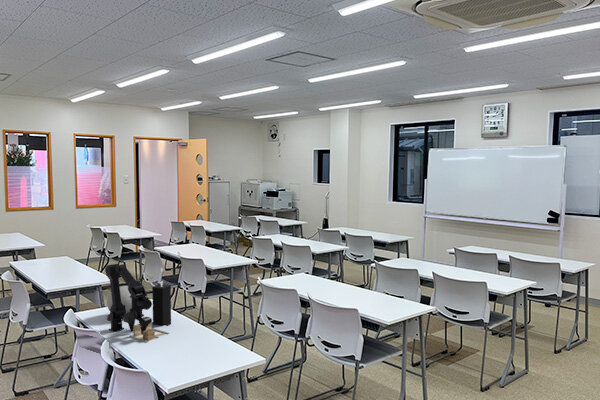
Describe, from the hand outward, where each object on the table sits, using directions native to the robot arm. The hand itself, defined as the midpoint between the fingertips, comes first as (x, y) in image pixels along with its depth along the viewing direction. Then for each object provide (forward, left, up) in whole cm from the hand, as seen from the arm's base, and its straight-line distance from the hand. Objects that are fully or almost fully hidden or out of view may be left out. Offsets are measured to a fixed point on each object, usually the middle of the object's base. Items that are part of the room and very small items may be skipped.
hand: (137, 333), depth 259 cm
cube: (+10, 0, -1) cm, 10 cm away
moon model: (-38, +20, -3) cm, 43 cm away
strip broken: (+6, +7, -3) cm, 10 cm away
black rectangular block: (-4, +22, -3) cm, 22 cm away
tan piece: (+6, 0, -3) cm, 6 cm away
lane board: (+6, +4, -3) cm, 7 cm away
